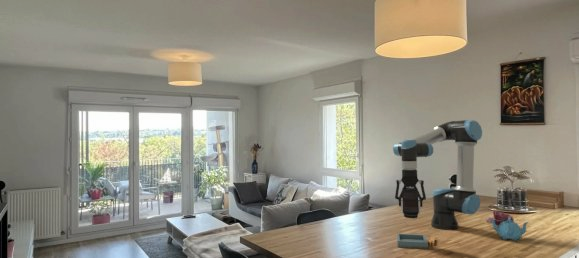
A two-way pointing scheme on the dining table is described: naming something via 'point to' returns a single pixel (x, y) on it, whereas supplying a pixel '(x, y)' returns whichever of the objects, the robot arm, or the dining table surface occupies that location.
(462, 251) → the dining table surface
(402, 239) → the tray
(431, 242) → the fuse puller tool
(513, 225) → the teapot
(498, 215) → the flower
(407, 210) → the camera lens
